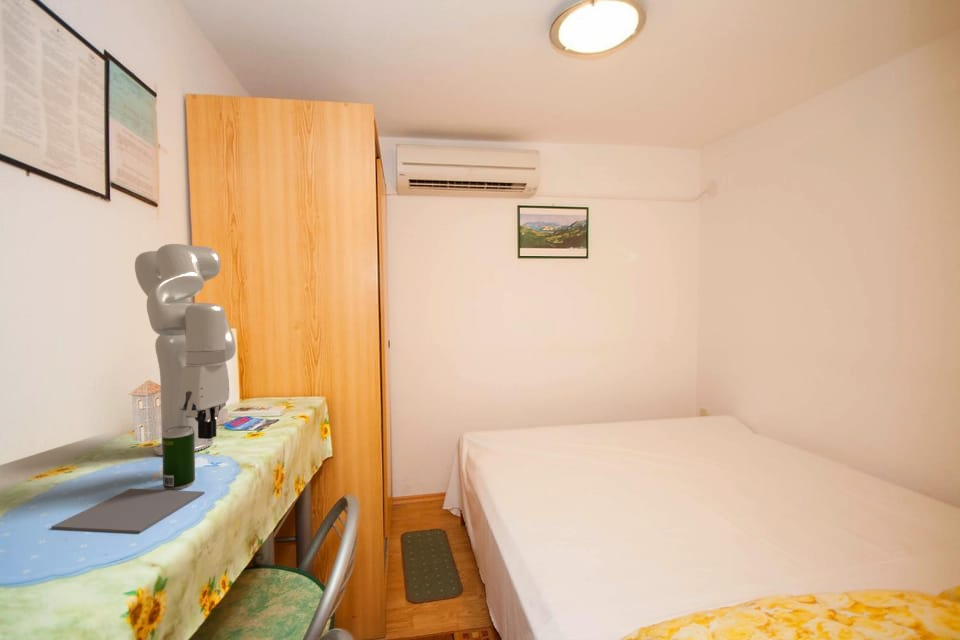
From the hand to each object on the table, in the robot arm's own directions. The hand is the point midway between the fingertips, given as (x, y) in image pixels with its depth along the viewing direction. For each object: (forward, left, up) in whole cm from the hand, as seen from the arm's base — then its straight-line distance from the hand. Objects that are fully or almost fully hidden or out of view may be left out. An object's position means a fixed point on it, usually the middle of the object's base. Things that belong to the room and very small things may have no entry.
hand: (207, 437), depth 91 cm
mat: (+18, 0, -8) cm, 19 cm away
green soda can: (+8, 0, -8) cm, 11 cm away
